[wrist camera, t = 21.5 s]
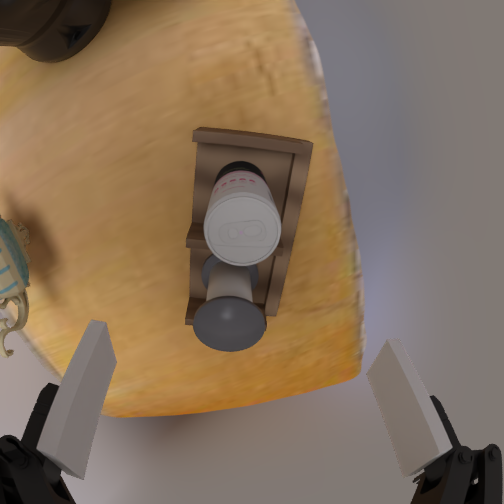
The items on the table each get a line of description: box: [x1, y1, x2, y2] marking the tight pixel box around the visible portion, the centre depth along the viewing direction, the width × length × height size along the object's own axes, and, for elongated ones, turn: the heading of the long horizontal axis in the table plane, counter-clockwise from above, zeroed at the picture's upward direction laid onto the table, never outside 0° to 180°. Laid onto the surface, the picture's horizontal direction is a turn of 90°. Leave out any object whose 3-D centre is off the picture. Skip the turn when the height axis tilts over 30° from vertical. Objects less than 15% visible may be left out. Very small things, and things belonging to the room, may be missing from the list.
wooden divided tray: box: [185, 127, 313, 331], centre depth 38 cm, size 27×14×6 cm, turn 172°
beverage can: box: [204, 161, 281, 266], centre depth 30 cm, size 7×6×15 cm
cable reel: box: [193, 254, 265, 352], centre depth 38 cm, size 8×8×12 cm
